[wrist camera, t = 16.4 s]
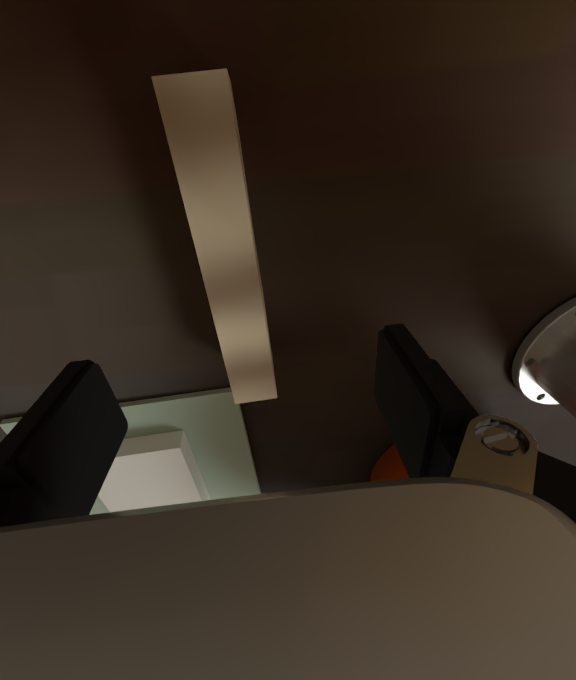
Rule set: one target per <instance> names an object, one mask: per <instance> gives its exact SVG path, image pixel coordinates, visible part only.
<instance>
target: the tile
mask: <svg viewBox="0 0 576 680" xmlns="http://www.w3.org/2000/svg"><path fill="white" fill-rule="evenodd" d="M98 496H99V498H100V499H101V501H102V502H103V503H104V505H105V506H106V507H107V509H108V510H109V512H116V511H124V510H132V509H140V508H148V507H156V506H164V505H173V504H181V503H189V502H197V501H206V500H211V499H210V496H209V494H208V491H207V489H206V486H205V484H204V481H203V479H202V476H201V473H200V471H199V468H198V466H197V463H196V461H195V458H194V456H193V453H192V450H191V448H190V445H189V443H188V440H187V438H186V435H185V433H184V430H180V431H173V432H167V433H160V434H153V435H146V436H139V437H132V438H125V439H123V442H122V444H121V446H120V448H119V450H118V453H117V455H116V457H115V459H114V461H113V464H112V466H111V468H110V470H109V472H108V474H107V477H106V479H105V481H104V483H103V485H102V488H101V490H100V492H99V494H98Z"/></svg>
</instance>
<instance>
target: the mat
mask: <svg viewBox="0 0 576 680" xmlns="http://www.w3.org/2000/svg"><path fill="white" fill-rule="evenodd" d="M119 405H120V407H121V409H122V411H123V413H124V415H125V417H126V419H127V422H128V430H127V433H126V435H125V437H124V439H125V438H132V437H139V436H146V435H153V434H160V433H167V432H173V431H180V430H184V433H185V435H186V438H187V440H188V443H189V445H190V448H191V450H192V453H193V456H194V458H195V461H196V463H197V466H198V468H199V471H200V473H201V476H202V479H203V481H204V484H205V486H206V489H207V491H208V494H209V496H210V499H211V500H214V499H222V498H231V497H239V496H247V495H256V494H261V491H260V486H259V482H258V478H257V474H256V470H255V465H254V461H253V457H252V453H251V448H250V444H249V440H248V436H247V431H246V427H245V423H244V419H243V414H242V410H241V406H240V404H235V402H234V398H233V394H232V390H231V387H229V388H222V389H215V390H208V391H201V392H194V393H187V394H180V395H172V396H165V397H158V398H151V399H144V400H137V401H130V402H123V403H119ZM21 418H22V417H17V418H10V419H3V420H2V422H1V423H0V427H1V428H2V429H3V430H4V431H5V433H6V434H7V435H8V433H9V432H10V431H11V430H12V429H13V428H14V426H15V425H16V424H17V423H18V422H19V421H20V419H21ZM108 512H109V510H108V509H107V507H106V506H105V505H104V503H103V502H102V501H101V499H100V498H99V496H97V499H96V501H95V503H94V505H93V507H92V510H91V512H90V514H89V515H93V514H100V513H108Z"/></svg>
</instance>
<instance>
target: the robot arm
mask: <svg viewBox="0 0 576 680" xmlns="http://www.w3.org/2000/svg"><path fill="white" fill-rule="evenodd" d="M512 380H513V382H514V385H515V387H516V388H517V389H518V390H519V391H520V392H521V393H522V394H523V395H524V396H525V397H527V398H528V399H529V400H531V401H533V402H536V403H542V404H560V405H561V406H563V407H564V408H565V409H566V410H567V411H568V412H569V413H571V414H572V415H573V416H574V417H575V418H576V297H575V298H573V299H571V300H569V301H568V302H566V303H564V304H563V305H561V306H559V307H558V308H556V309H555V310H554V311H552V312H551V313H550V314H548V315H547V316H546V317H544V318H543V319H542V320H541V321H540V322H539V323H538V324H537V325H536V326H535V327H534V328H533V329H532V330H531V332H530V333H529V334H528V335H527V336H526V338H525V339H524V340H523V342H522V344H521V345H520V347H519V348H518V350H517V353H516V355H515V358H514V360H513V365H512ZM374 395H375V400H376V403H377V405H378V407H379V410H380V412H381V414H382V417H383V419H384V421H385V423H386V426H387V428H388V430H389V433H390V435H391V437H392V440H393V442H394V444H395V446H396V449H397V451H398V453H399V456H400V458H401V460H402V462H403V465H404V467H405V469H406V472H407V474H408V476H409V478H403V479H393V480H383V481H373V482H362V483H352V484H343V485H334V486H325V487H317V488H308V489H299V490H290V491H282V492H273V493H264V494H256V495H247V496H239V497H231V498H222V499H214V500H206V501H197V502H189V503H181V504H173V505H164V506H156V507H148V508H140V509H132V510H124V511H116V512H108V513H100V514H93V515H89V514H90V512H91V510H92V507H93V505H94V503H95V501H96V499H97V496H98V494H99V492H100V490H101V488H102V485H103V483H104V481H105V479H106V477H107V474H108V472H109V470H110V468H111V466H112V464H113V461H114V459H115V457H116V455H117V453H118V450H119V448H120V446H121V444H122V442H123V439H124V437H125V435H126V433H127V430H128V422H127V419H126V417H125V415H124V413H123V411H122V409H121V407H120V405H119V403H118V401H117V399H116V397H115V395H114V393H113V391H112V389H111V387H110V385H109V383H108V381H107V379H106V377H105V375H104V374H103V372H102V370H101V368H100V366H99V365H98V364H96V363H94V362H93V361H91V360H82V361H74V362H70V363H69V364H67V366H66V367H65V368H64V369H63V370H62V371H61V373H60V374H59V375H58V376H57V377H56V378H55V380H54V381H53V382H52V383H51V384H50V385H49V387H48V388H47V389H46V390H45V391H44V392H43V394H42V395H41V396H40V397H39V398H38V400H37V401H36V402H35V403H34V404H33V405H32V407H31V408H30V409H29V410H28V411H27V412H26V414H25V415H24V416H23V417H22V418H21V419H20V421H19V422H18V423H17V424H16V425H15V426H14V428H13V429H12V430H11V431H10V432H9V433H8V435H7V436H6V437H5V438H4V439H3V440H2V442H1V443H0V680H576V467H575V466H573V465H571V464H568V463H566V462H563V461H561V460H558V459H556V458H554V457H551V456H549V455H546V454H544V453H541V452H539V451H538V446H537V442H536V440H535V438H534V437H533V435H532V434H531V433H530V432H529V431H528V430H527V429H526V428H525V427H523V426H522V425H520V424H519V423H517V422H515V421H513V420H510V419H508V418H506V417H501V416H497V415H482V416H479V414H478V413H477V412H476V411H475V409H474V408H473V407H472V406H471V404H470V403H469V402H468V400H467V399H466V398H465V397H464V395H463V394H462V393H461V392H460V390H459V389H458V388H457V386H456V385H455V384H454V383H453V381H452V380H451V379H450V378H449V376H448V375H447V374H446V372H445V371H444V370H443V369H442V367H441V366H440V365H439V364H438V362H437V361H435V360H433V359H430V358H429V357H428V356H427V354H426V353H425V352H424V350H423V349H422V348H421V346H420V345H419V344H418V343H417V341H416V340H415V339H414V337H413V336H412V335H411V333H410V332H409V331H408V329H407V328H406V327H405V326H404V325H403V324H395V325H386V326H384V329H383V330H380V331H379V333H378V344H377V359H376V374H375V389H374Z"/></svg>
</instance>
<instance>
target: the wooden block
mask: <svg viewBox="0 0 576 680" xmlns="http://www.w3.org/2000/svg"><path fill="white" fill-rule="evenodd" d="M151 78H152V81H153V85H154V89H155V93H156V97H157V101H158V105H159V109H160V113H161V117H162V121H163V124H164V128H165V132H166V136H167V140H168V144H169V148H170V152H171V156H172V160H173V164H174V167H175V171H176V175H177V179H178V183H179V187H180V191H181V195H182V199H183V203H184V207H185V210H186V214H187V218H188V222H189V226H190V230H191V234H192V238H193V242H194V246H195V249H196V253H197V257H198V261H199V265H200V269H201V273H202V277H203V281H204V285H205V289H206V292H207V296H208V300H209V304H210V308H211V312H212V316H213V320H214V324H215V328H216V332H217V335H218V339H219V343H220V347H221V351H222V355H223V359H224V363H225V367H226V371H227V375H228V378H229V382H230V386H231V390H232V394H233V398H234V402H235V404H240V403H247V402H254V401H260V400H267V399H274V398H277V390H276V382H275V373H274V365H273V356H272V350H271V343H270V336H269V330H268V323H267V316H266V310H265V303H264V297H263V290H262V283H261V277H260V270H259V263H258V257H257V250H256V244H255V237H254V230H253V224H252V217H251V210H250V204H249V197H248V191H247V184H246V177H245V171H244V164H243V157H242V151H241V144H240V138H239V131H238V124H237V118H236V111H235V105H234V98H233V91H232V85H231V81H230V78H229V75H228V71H227V68H226V69H216V70H207V71H197V72H188V73H179V74H169V75H160V76H151Z"/></svg>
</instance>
